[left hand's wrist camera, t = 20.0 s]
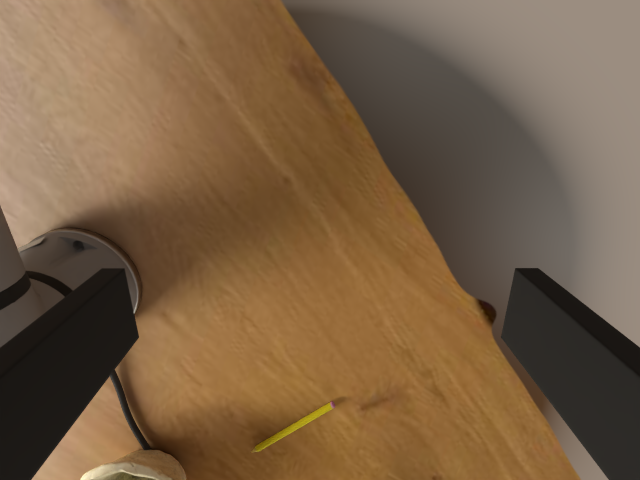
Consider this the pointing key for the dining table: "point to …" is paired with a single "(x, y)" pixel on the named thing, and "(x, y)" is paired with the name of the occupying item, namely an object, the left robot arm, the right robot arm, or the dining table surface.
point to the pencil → (294, 426)
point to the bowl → (139, 468)
